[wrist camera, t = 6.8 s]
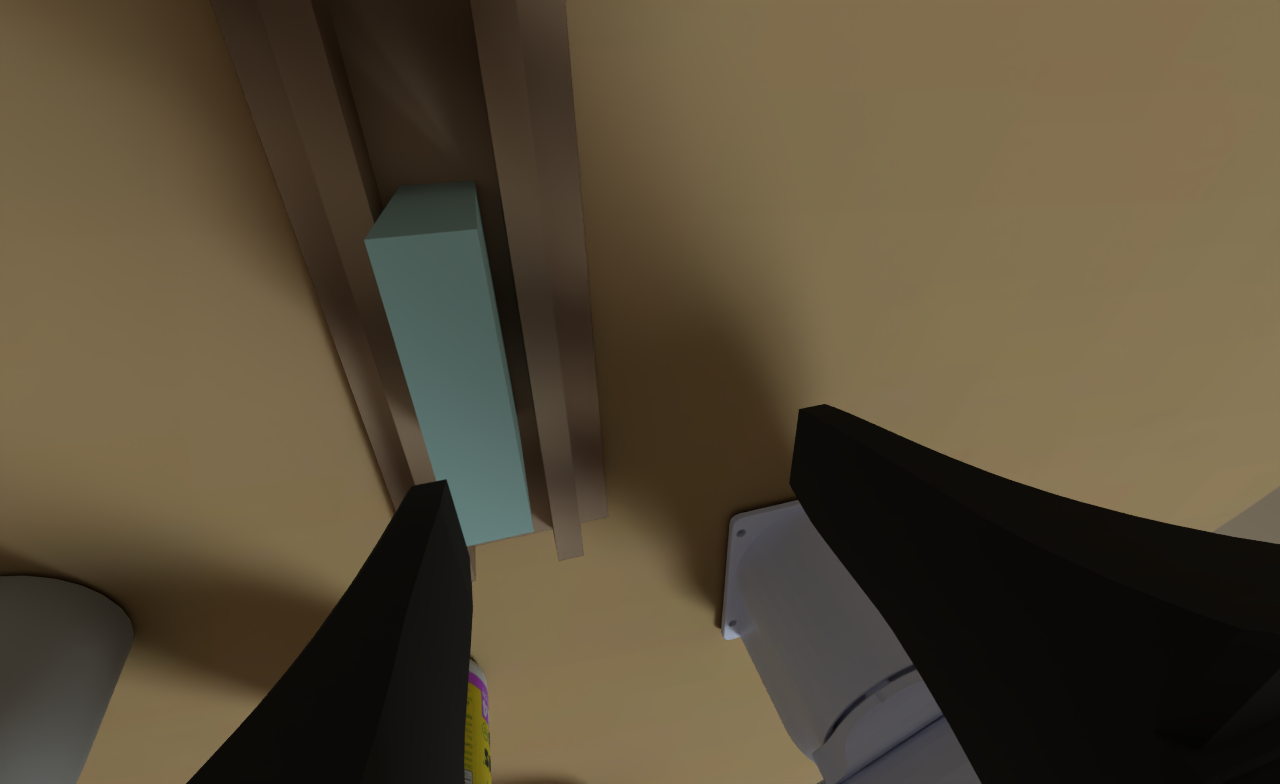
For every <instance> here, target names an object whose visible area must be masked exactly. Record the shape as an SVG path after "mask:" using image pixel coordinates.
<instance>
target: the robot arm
mask: <svg viewBox="0 0 1280 784" xmlns="http://www.w3.org/2000/svg"><path fill="white" fill-rule="evenodd" d="M789 484H790V486H791V488H792V490H793V491H794V493H795V495H796V497H797V499H798V500H796V501H791V502H787V503H783V504H778V505H774V506H770V507H765V508H761V509H757V510H752V511H748V512H744V513H739V514H737V515H735V516H734V517H733V518H732V519H731V520H730V524H729V537H728V550H727V562H726V575H725V587H724V600H723V613H722V625H721V633H722V636H723V638H724V639H727V640H730V639H734V638H738V637H741V639H742V641H743V643H744V645H745V647H746V649H747V651H748V653H749V655H750V657H751V659H752V661H753V663H754V665H755V667H756V669H757V671H758V673H759V675H760V678H761V680H762V682H763V684H764V686H765V688H766V690H767V692H768V694H769V696H770V698H771V700H772V702H773V704H774V706H775V708H776V710H777V712H778V714H779V716H780V718H781V720H782V723H783V725H784V727H785V729H786V731H787V732H788V734H789V736H790V737H791V739H792V741H793V742H794V743H795V745H796V746H797V747H798V748H799V749H800V750H801V751H802V752H803V753H804V754H805V755H806V756H807V757H808V758H809V759H810V760H812V761H813V762H814V763H816V765H817V766H818V768H819V770H820V772H821V774H822V776H823V778H824V780H822V781H820V782H819V783H817V784H1280V544H1274V543H1268V542H1262V541H1256V540H1250V539H1243V538H1237V537H1231V536H1226V535H1221V534H1216V533H1211V532H1206V531H1202V530H1197V529H1192V528H1187V527H1182V526H1177V525H1172V524H1168V523H1163V522H1159V521H1155V520H1150V519H1146V518H1141V517H1137V516H1133V515H1129V514H1125V513H1121V512H1117V511H1114V510H1110V509H1106V508H1102V507H1098V506H1094V505H1091V504H1087V503H1083V502H1079V501H1076V500H1073V499H1069V498H1066V497H1062V496H1059V495H1055V494H1052V493H1049V492H1046V491H1043V490H1040V489H1037V488H1034V487H1031V486H1027V485H1024V484H1021V483H1018V482H1015V481H1012V480H1009V479H1006V478H1003V477H1001V476H998V475H995V474H992V473H990V472H987V471H984V470H982V469H979V468H977V467H974V466H971V465H969V464H966V463H964V462H961V461H959V460H956V459H953V458H951V457H949V456H946V455H944V454H941V453H939V452H936V451H934V450H932V449H929V448H927V447H925V446H922V445H920V444H918V443H915V442H913V441H911V440H909V439H906V438H904V437H902V436H899V435H897V434H895V433H893V432H890V431H888V430H886V429H884V428H882V427H879V426H877V425H875V424H873V423H870V422H868V421H866V420H864V419H861V418H859V417H857V416H854V415H852V414H850V413H847V412H845V411H842V410H840V409H837V408H835V407H832V406H829V405H826V404H823V405H818V406H812V407H807V408H802V409H799V414H798V422H797V429H796V437H795V444H794V452H793V459H792V467H791V474H790V482H789ZM739 530H740V531H739ZM472 614H473V601H472V581H471V565H470V555H469V552H468V549H467V545H466V542H465V539H464V535H463V532H462V529H461V525H460V522H459V519H458V515H457V512H456V509H455V505H454V502H453V499H452V495H451V492H450V489H449V485H448V482H447V479H445V480H440V481H435V482H429V483H424V484H419V485H414V486H412V487H411V488H410V489H409V490H408V492H407V493H406V495H405V497H404V498H403V500H402V502H401V504H400V505H399V507H398V509H397V511H396V512H395V514H394V516H393V518H392V519H391V521H390V523H389V524H388V526H387V528H386V529H385V531H384V533H383V534H382V536H381V538H380V539H379V541H378V543H377V544H376V546H375V548H374V549H373V551H372V552H371V554H370V555H369V557H368V558H367V560H366V562H365V563H364V565H363V566H362V568H361V569H360V571H359V573H358V574H357V576H356V577H355V579H354V580H353V582H352V583H351V585H350V586H349V588H348V589H347V591H346V592H345V594H344V595H343V596H342V598H341V599H340V601H339V602H338V603H337V605H336V606H335V608H334V609H333V610H332V612H331V613H330V615H329V616H328V617H327V619H326V620H325V622H324V623H323V624H322V626H321V627H320V629H319V630H318V631H317V633H316V634H315V635H314V637H313V638H312V639H311V641H310V642H309V643H308V645H307V646H306V647H305V649H304V650H303V651H302V652H301V654H300V655H299V656H298V658H297V659H296V660H295V661H294V663H293V664H292V665H291V666H290V668H289V669H288V670H287V671H286V672H285V674H284V675H283V676H282V677H281V679H280V680H279V681H278V682H277V683H276V685H275V686H274V687H273V688H272V689H271V691H270V692H269V693H268V694H267V695H266V697H265V698H264V699H263V700H262V701H261V703H260V704H259V705H258V706H257V707H256V708H255V709H254V710H253V712H252V713H251V714H250V715H249V716H248V717H247V718H246V719H245V721H244V722H243V723H242V724H241V725H240V726H239V727H238V728H237V729H236V731H235V732H234V733H233V734H232V735H231V736H230V737H229V738H228V739H227V740H226V741H225V742H224V744H223V745H222V746H221V747H220V748H219V749H218V750H217V751H216V752H215V753H214V754H213V755H212V757H211V758H210V759H209V760H208V761H207V762H206V763H205V764H204V765H203V766H202V767H201V768H200V770H199V771H198V772H197V773H196V774H195V775H194V776H193V777H192V778H191V779H190V780H189V781H188V782H187V783H186V784H465V769H464V753H465V725H466V709H467V694H468V678H469V663H470V648H471V631H472Z"/></svg>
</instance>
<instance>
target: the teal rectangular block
mask: <svg viewBox="0 0 1280 784" xmlns="http://www.w3.org/2000/svg"><path fill="white" fill-rule="evenodd" d="M364 242H365V245H366V248H367V252H368V255H369V258H370V262H371V265H372V268H373V272H374V275H375V278H376V282H377V285H378V288H379V292H380V295H381V298H382V302H383V305H384V308H385V312H386V315H387V318H388V322H389V325H390V328H391V332H392V335H393V338H394V342H395V345H396V348H397V352H398V355H399V358H400V362H401V365H402V368H403V372H404V375H405V378H406V382H407V385H408V388H409V392H410V395H411V398H412V402H413V405H414V408H415V412H416V415H417V418H418V422H419V425H420V428H421V432H422V435H423V438H424V442H425V445H426V449H427V452H428V455H429V459H430V462H431V465H432V469H433V472H434V475H435V479H436V481H440V480H445V479H447V482H448V485H449V489H450V492H451V495H452V499H453V502H454V505H455V509H456V512H457V515H458V519H459V522H460V525H461V529H462V532H463V535H464V539H465V542H466V545H467V546H471V545H476V544H481V543H485V542H490V541H494V540H499V539H503V538H508V537H512V536H517V535H521V534H526V533H530V532H534V530H533V523H532V516H531V509H530V502H529V495H528V488H527V481H526V474H525V467H524V460H523V453H522V446H521V439H520V432H519V425H518V418H517V412H516V406H515V401H514V395H513V390H512V384H511V379H510V373H509V368H508V362H507V357H506V351H505V346H504V340H503V335H502V329H501V324H500V318H499V313H498V307H497V302H496V296H495V291H494V285H493V280H492V274H491V269H490V263H489V258H488V252H487V246H486V241H485V235H484V230H483V224H482V219H481V213H480V208H479V202H478V197H477V191H476V186H475V180H470V181H456V182H443V183H430V184H417V185H403V186H399V188H398V189H397V191H396V192H395V194H394V195H393V197H392V198H391V200H390V201H389V203H388V205H387V206H386V208H385V209H384V211H383V212H382V214H381V215H380V217H379V218H378V220H377V221H376V223H375V224H374V226H373V227H372V229H371V230H370V232H369V233H368V235H367V236H366V238H365V239H364Z"/></svg>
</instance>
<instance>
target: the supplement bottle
mask: <svg viewBox="0 0 1280 784" xmlns="http://www.w3.org/2000/svg"><path fill="white" fill-rule="evenodd" d="M464 769H465V784H491V760H490V733H489V708H488V690H487V682H486V678H485V676H484V673H483V671H482V670H481V669H480V667H479V666H478V665H477V664H476V663H475V662H474V661H472V660H471V659H470V663H469V678H468V694H467V709H466V725H465V753H464Z"/></svg>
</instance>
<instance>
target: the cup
mask: <svg viewBox="0 0 1280 784" xmlns="http://www.w3.org/2000/svg"><path fill="white" fill-rule="evenodd" d="M133 637H134V631H133V627H132V623H131V620H130V619H129V618H128V616H127V615H126V614H125V612H124V611H123V610H122V609H121V607H119V606H118V605H116V604H115V603H114V602H112V601H111V600H109V599H108V598H107V597H105V596H104V595H102V594H100V593H98V592H95V591H93V590H91V589H89V588H86V587H84V586H82V585H78V584H74V583H71V582H67V581H63V580H59V579H53V578H44V577H35V576H0V784H76V783H77V780H78V778H79V776H80V774H81V771H82V769H83V767H84V765H85V762H86V760H87V757H88V755H89V752H90V750H91V747H92V745H93V742H94V740H95V737H96V734H97V732H98V729H99V727H100V724H101V722H102V719H103V717H104V714H105V712H106V709H107V707H108V704H109V702H110V699H111V697H112V694H113V692H114V689H115V686H116V684H117V681H118V679H119V676H120V674H121V671H122V669H123V666H124V664H125V661H126V659H127V656H128V654H129V651H130V649H131V645H132V641H133Z"/></svg>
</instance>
